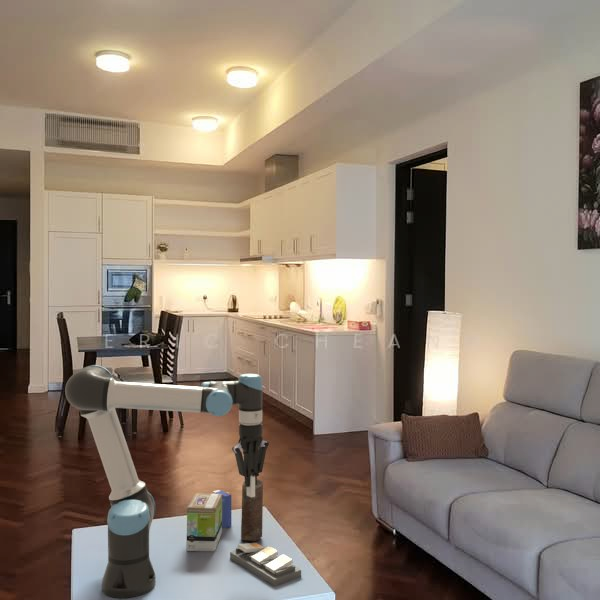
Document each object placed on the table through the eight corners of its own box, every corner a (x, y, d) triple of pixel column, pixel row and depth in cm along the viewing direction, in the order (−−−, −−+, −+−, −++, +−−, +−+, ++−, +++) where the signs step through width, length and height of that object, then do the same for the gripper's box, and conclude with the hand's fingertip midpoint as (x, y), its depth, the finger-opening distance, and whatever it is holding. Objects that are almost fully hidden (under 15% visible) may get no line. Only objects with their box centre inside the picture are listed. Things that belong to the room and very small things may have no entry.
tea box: (216, 552, 208) (215, 507, 208) (185, 551, 208) (185, 507, 208) (222, 533, 223) (222, 492, 223) (194, 533, 223) (194, 492, 223)
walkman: (231, 526, 230) (231, 493, 230) (225, 528, 228) (225, 495, 228) (218, 520, 236) (218, 488, 235) (212, 522, 234) (212, 490, 233)
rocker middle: (260, 565, 193) (259, 561, 193) (251, 560, 197) (250, 556, 197) (278, 554, 197) (277, 550, 197) (269, 549, 201) (268, 546, 201)
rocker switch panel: (274, 586, 185) (274, 575, 185) (230, 558, 203) (230, 548, 203) (301, 576, 191) (301, 565, 191) (255, 549, 210) (255, 540, 210)
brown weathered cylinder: (265, 536, 221) (265, 479, 220) (258, 544, 214) (258, 486, 213) (245, 533, 223) (245, 477, 222) (237, 542, 216) (237, 484, 215)
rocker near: (274, 574, 187) (274, 570, 187) (265, 568, 191) (264, 564, 191) (292, 562, 192) (292, 559, 191) (283, 557, 195) (283, 553, 195)
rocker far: (245, 552, 199) (246, 548, 199) (237, 547, 202) (238, 543, 203) (263, 551, 203) (264, 547, 203) (255, 546, 207) (255, 542, 207)
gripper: (240, 427, 195) (240, 503, 195) (274, 421, 203) (274, 494, 204) (227, 423, 201) (227, 497, 201) (260, 418, 209) (260, 488, 209)
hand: (250, 495), depth 202 cm, fingers closed
